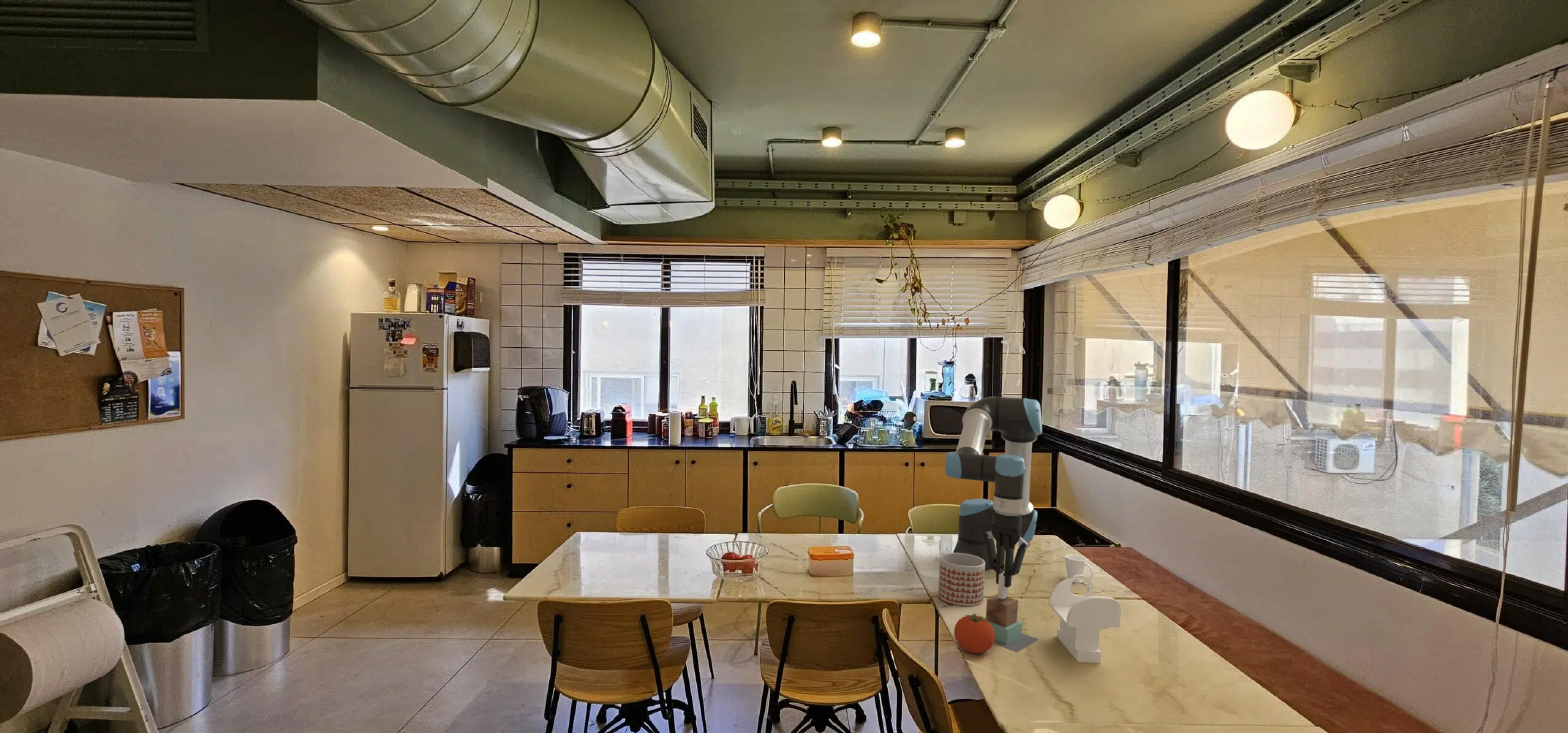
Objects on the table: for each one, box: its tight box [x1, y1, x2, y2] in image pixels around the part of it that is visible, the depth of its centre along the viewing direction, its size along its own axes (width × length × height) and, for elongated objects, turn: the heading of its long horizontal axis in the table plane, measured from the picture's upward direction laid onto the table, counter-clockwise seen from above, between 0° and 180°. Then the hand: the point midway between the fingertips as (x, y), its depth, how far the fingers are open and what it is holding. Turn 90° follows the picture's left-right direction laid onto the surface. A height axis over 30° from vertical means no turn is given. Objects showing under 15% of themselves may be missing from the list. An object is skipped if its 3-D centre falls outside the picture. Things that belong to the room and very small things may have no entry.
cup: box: [1064, 554, 1094, 584], centre depth 231 cm, size 7×10×8 cm
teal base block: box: [983, 617, 1023, 644], centre depth 185 cm, size 8×8×4 cm
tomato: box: [953, 613, 995, 654], centre depth 175 cm, size 10×10×10 cm
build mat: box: [993, 633, 1039, 653], centre depth 185 cm, size 16×12×1 cm
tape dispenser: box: [1048, 574, 1122, 664], centre depth 179 cm, size 14×13×18 cm
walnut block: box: [985, 593, 1019, 628], centre depth 185 cm, size 6×6×6 cm
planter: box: [937, 552, 986, 608], centre depth 211 cm, size 14×14×13 cm
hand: (1002, 597), depth 185 cm, fingers closed
